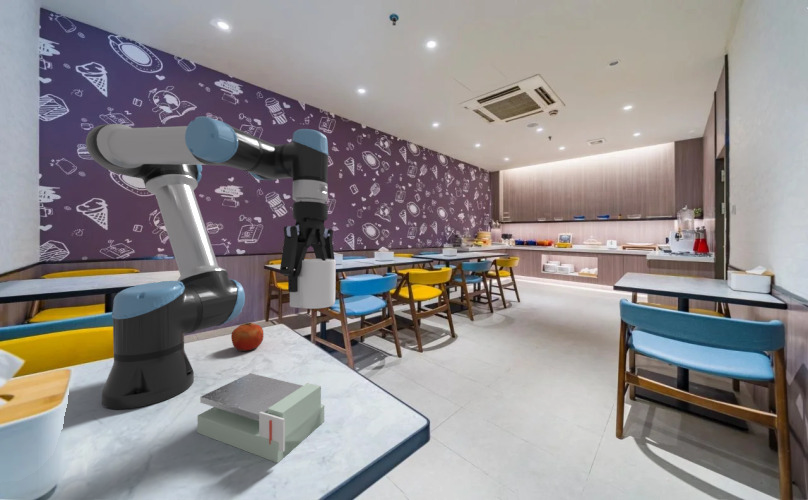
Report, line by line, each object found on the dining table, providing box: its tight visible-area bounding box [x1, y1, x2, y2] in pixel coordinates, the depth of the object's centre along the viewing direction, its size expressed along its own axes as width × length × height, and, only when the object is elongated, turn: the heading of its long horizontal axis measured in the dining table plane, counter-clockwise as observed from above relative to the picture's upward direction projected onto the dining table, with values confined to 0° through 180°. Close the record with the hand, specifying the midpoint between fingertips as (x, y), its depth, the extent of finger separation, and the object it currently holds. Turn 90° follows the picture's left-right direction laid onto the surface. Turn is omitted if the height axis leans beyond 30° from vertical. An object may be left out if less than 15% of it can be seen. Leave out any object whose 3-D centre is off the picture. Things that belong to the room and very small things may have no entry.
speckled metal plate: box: [199, 373, 303, 421], centre depth 52 cm, size 14×10×3 cm
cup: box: [299, 258, 337, 310], centre depth 66 cm, size 8×12×10 cm
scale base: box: [197, 382, 325, 464], centre depth 51 cm, size 19×11×7 cm, turn 68°
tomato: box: [231, 322, 264, 352], centre depth 90 cm, size 9×9×8 cm
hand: (310, 302), depth 66 cm, fingers closed on cup, 8 cm apart
